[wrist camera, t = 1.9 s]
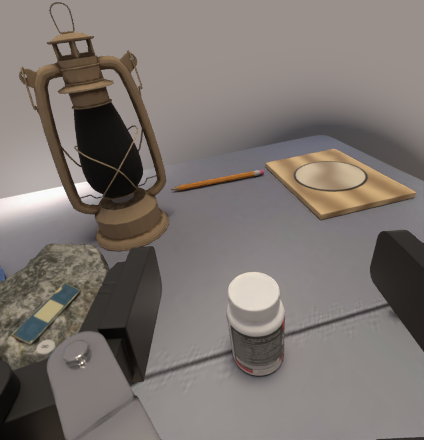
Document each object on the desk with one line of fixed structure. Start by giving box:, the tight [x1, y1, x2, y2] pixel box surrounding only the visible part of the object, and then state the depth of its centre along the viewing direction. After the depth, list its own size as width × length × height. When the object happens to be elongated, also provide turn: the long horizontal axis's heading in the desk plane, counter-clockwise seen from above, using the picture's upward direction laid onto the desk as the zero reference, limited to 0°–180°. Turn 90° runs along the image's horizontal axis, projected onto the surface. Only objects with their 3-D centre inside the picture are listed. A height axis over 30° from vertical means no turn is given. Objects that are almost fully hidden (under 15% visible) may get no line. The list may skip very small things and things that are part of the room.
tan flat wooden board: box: [266, 149, 416, 220], centre depth 52 cm, size 16×22×1 cm
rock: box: [0, 243, 109, 370], centre depth 29 cm, size 18×14×10 cm
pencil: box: [171, 170, 264, 191], centre depth 57 cm, size 1×1×19 cm
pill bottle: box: [227, 272, 285, 375], centre depth 24 cm, size 5×5×8 cm
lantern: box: [19, 2, 169, 251], centre depth 39 cm, size 14×12×30 cm
